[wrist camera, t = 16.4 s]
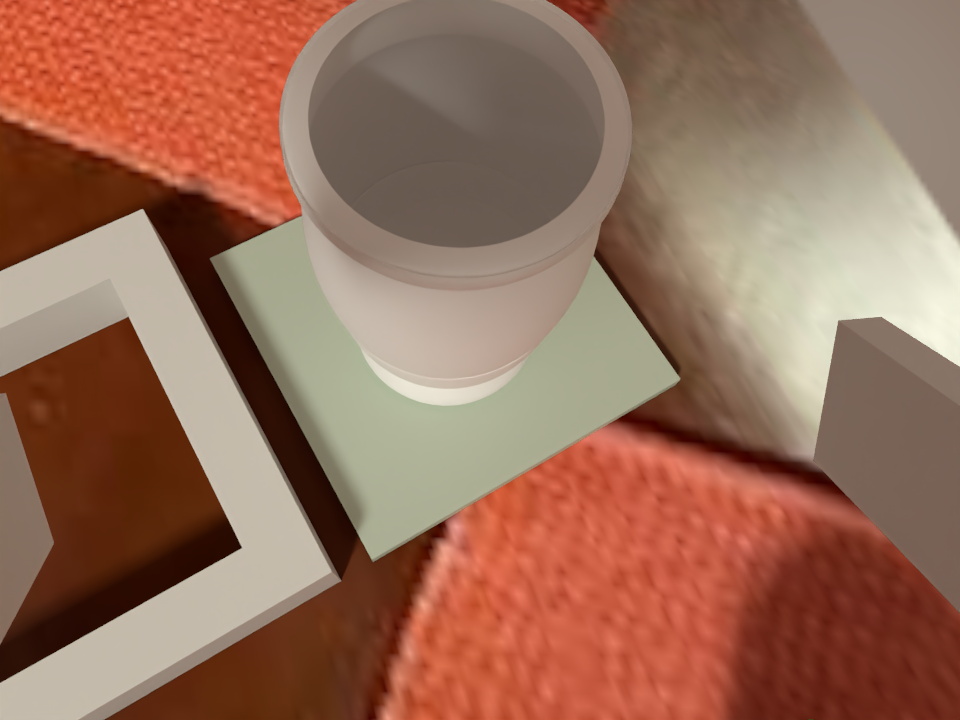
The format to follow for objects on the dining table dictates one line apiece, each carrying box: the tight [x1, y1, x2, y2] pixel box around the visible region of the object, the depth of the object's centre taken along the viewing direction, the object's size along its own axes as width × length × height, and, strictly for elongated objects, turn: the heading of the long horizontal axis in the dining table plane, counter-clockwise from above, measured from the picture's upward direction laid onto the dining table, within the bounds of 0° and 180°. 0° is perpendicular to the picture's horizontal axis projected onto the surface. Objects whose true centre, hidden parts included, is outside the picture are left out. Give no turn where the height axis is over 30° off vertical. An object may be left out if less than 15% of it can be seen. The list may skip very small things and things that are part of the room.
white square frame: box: [0, 209, 341, 720], centre depth 32 cm, size 18×19×4 cm
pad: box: [210, 216, 680, 562], centre depth 37 cm, size 16×16×1 cm
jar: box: [279, 0, 632, 406], centre depth 30 cm, size 11×10×15 cm
